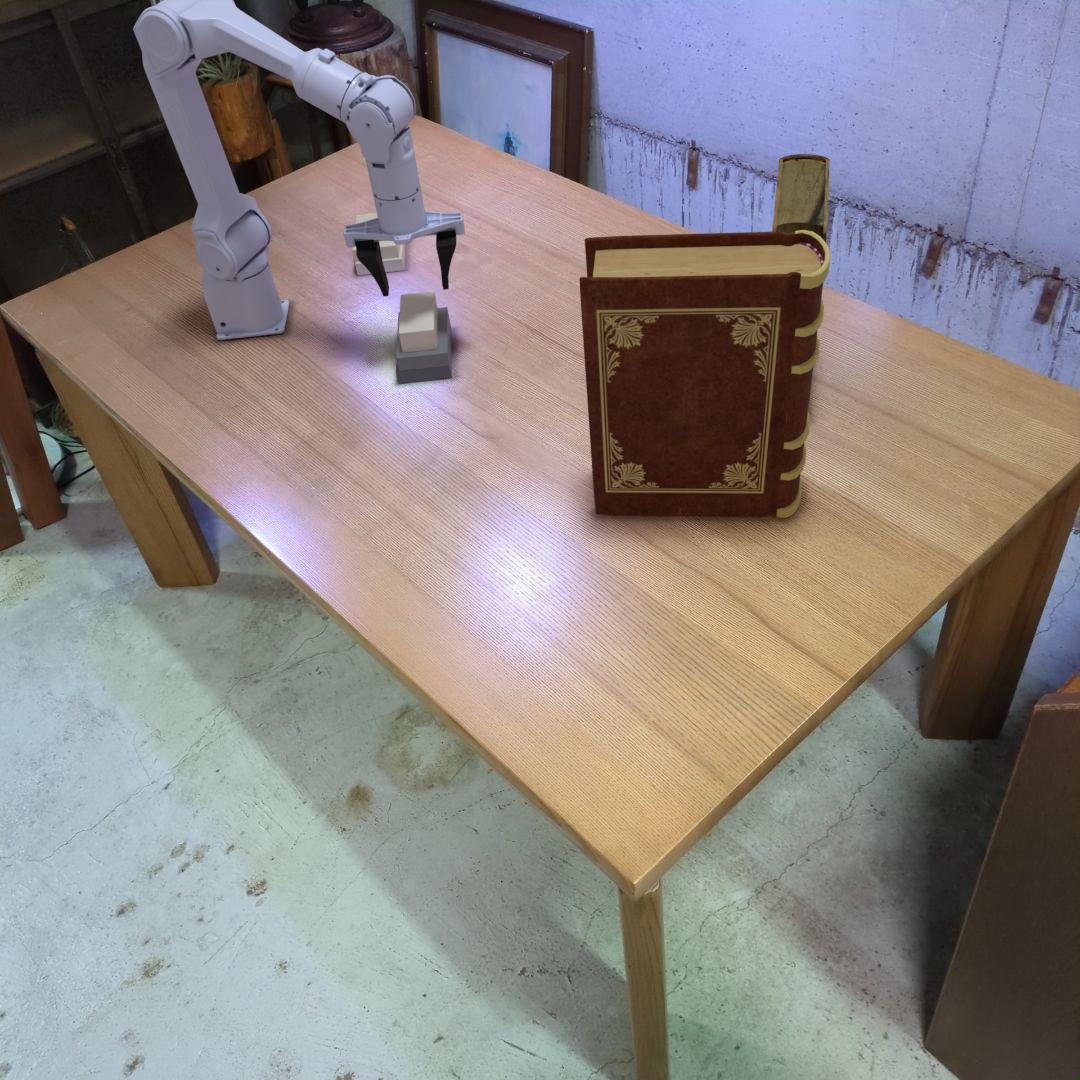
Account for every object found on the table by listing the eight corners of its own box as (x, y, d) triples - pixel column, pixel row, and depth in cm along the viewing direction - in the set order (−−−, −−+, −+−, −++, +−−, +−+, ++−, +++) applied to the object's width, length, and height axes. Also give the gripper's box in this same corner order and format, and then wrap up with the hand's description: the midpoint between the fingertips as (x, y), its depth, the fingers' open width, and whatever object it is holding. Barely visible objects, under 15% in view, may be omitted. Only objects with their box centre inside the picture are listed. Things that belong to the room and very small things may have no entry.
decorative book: (798, 469, 119) (826, 227, 98) (803, 519, 114) (834, 274, 92) (599, 469, 122) (584, 234, 101) (595, 517, 116) (578, 280, 95)
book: (765, 338, 137) (779, 153, 119) (809, 340, 136) (829, 154, 118) (758, 418, 126) (772, 227, 108) (805, 421, 125) (827, 228, 107)
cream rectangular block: (402, 353, 135) (398, 333, 133) (404, 313, 141) (400, 294, 139) (437, 349, 135) (433, 329, 133) (438, 310, 141) (434, 290, 139)
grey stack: (398, 384, 137) (392, 358, 134) (400, 335, 145) (395, 310, 142) (451, 378, 137) (447, 352, 134) (451, 330, 145) (447, 305, 142)
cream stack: (357, 275, 157) (351, 251, 154) (361, 238, 165) (356, 214, 162) (404, 270, 157) (399, 246, 154) (406, 233, 165) (401, 209, 162)
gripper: (333, 212, 122) (357, 312, 132) (457, 198, 122) (473, 299, 132) (337, 183, 127) (360, 282, 137) (456, 170, 127) (472, 269, 137)
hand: (416, 288), depth 135 cm, fingers open, 7 cm apart
